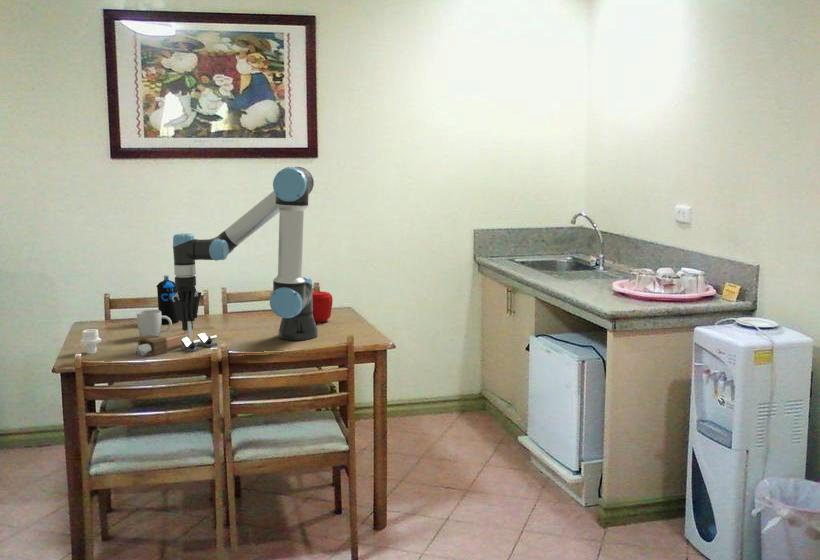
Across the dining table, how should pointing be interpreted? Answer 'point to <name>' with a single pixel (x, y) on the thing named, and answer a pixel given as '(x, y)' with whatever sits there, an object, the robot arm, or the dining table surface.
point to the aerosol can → (166, 300)
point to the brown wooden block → (175, 339)
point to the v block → (198, 343)
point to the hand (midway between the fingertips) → (188, 338)
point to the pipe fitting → (90, 340)
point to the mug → (151, 322)
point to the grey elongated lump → (145, 349)
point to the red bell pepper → (321, 306)
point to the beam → (156, 344)
